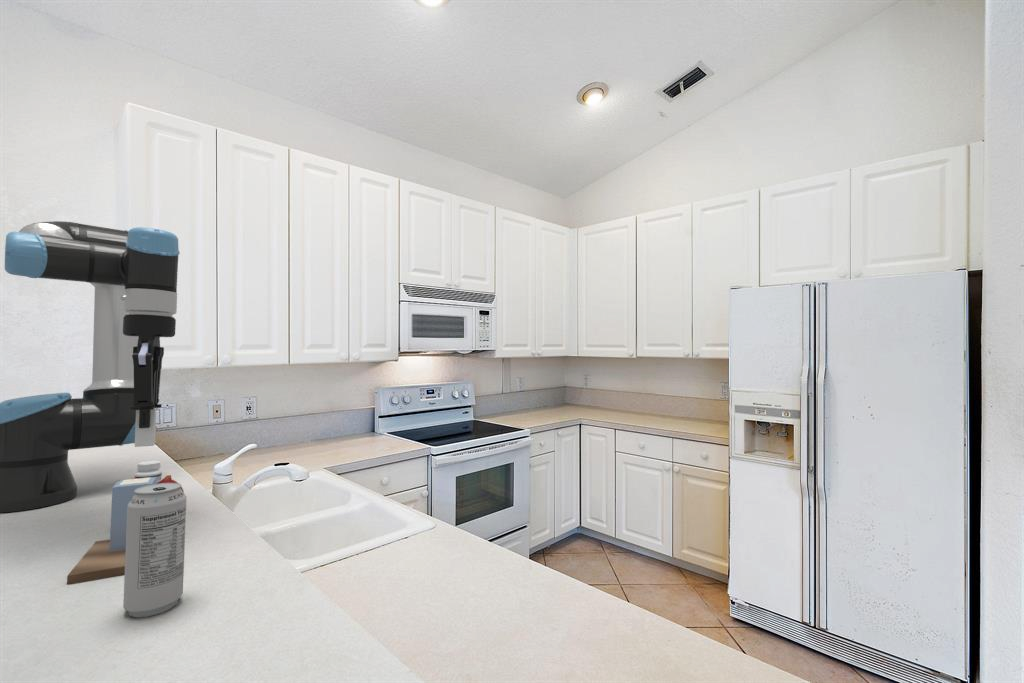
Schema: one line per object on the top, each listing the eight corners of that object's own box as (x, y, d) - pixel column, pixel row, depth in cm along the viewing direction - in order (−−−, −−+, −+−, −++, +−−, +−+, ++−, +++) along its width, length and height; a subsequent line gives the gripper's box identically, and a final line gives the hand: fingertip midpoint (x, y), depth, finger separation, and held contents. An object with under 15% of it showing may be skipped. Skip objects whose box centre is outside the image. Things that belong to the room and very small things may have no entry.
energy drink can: (174, 590, 63) (178, 479, 64) (189, 605, 59) (193, 486, 60) (117, 608, 59) (122, 488, 59) (129, 625, 55) (134, 497, 55)
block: (116, 541, 77) (119, 479, 77) (154, 535, 80) (156, 475, 80) (109, 552, 73) (112, 486, 73) (149, 545, 75) (152, 482, 76)
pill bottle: (128, 502, 102) (129, 463, 102) (150, 496, 106) (152, 459, 106) (143, 504, 100) (145, 465, 101) (165, 498, 105) (167, 461, 105)
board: (95, 548, 77) (95, 541, 77) (176, 536, 82) (177, 529, 82) (66, 584, 65) (67, 575, 65) (164, 567, 70) (165, 559, 70)
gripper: (132, 316, 88) (126, 441, 87) (114, 310, 77) (108, 454, 76) (180, 318, 92) (175, 438, 91) (170, 313, 80) (164, 450, 80)
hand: (144, 445), depth 83 cm, fingers closed
